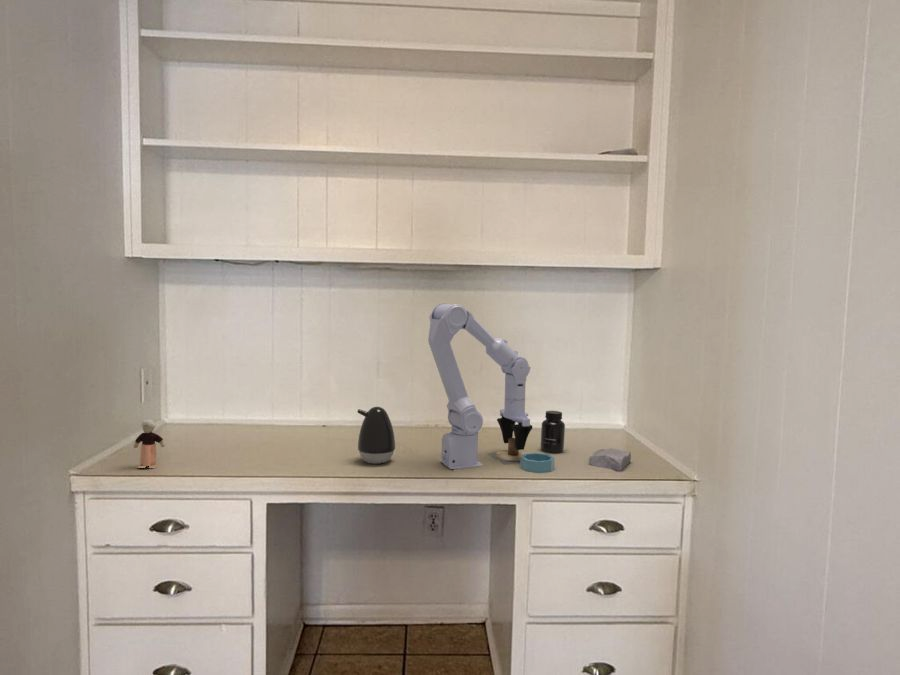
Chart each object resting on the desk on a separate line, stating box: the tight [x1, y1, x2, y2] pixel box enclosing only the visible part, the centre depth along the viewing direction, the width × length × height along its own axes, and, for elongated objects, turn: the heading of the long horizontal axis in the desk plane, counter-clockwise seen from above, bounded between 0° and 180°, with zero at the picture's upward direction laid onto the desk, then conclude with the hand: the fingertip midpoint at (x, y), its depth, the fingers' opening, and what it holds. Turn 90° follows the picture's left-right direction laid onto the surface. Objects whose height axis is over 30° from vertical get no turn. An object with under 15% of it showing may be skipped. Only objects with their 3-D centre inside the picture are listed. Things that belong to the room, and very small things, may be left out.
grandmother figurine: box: [132, 418, 166, 466], centre depth 159 cm, size 8×4×13 cm, turn 106°
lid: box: [495, 437, 528, 462], centre depth 174 cm, size 10×10×5 cm
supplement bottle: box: [540, 410, 566, 455], centre depth 182 cm, size 7×7×12 cm
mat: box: [487, 452, 520, 465], centre depth 175 cm, size 11×11×1 cm
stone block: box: [588, 447, 632, 472], centre depth 171 cm, size 12×5×10 cm
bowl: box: [519, 452, 555, 474], centre depth 165 cm, size 8×8×3 cm
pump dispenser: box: [357, 406, 396, 465], centre depth 169 cm, size 10×10×15 cm
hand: (513, 446), depth 174 cm, fingers open, 7 cm apart
